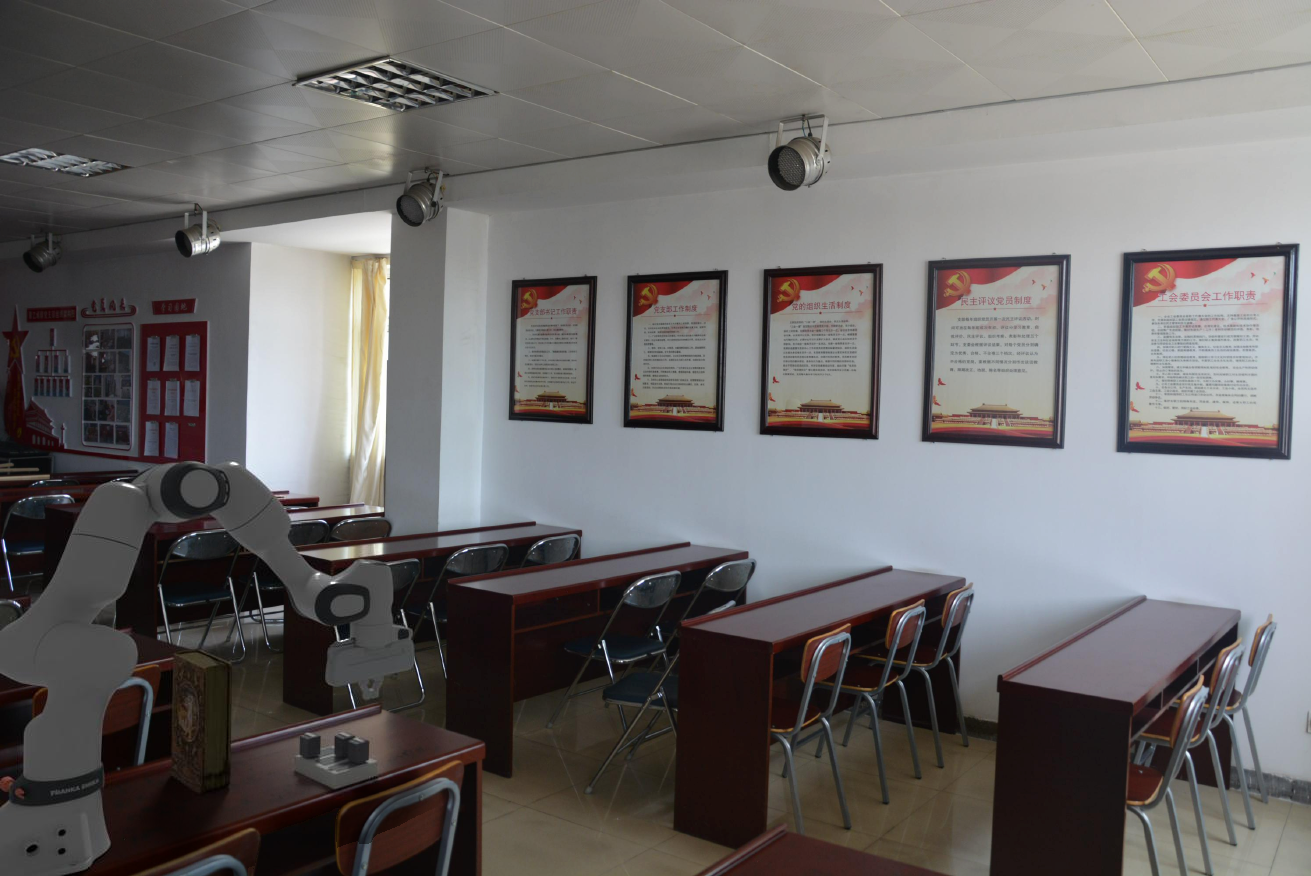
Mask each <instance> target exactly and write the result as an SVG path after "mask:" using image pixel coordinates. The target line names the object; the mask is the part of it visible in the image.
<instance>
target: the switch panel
mask: <svg viewBox="0 0 1311 876" xmlns="http://www.w3.org/2000/svg"><path fill="white" fill-rule="evenodd" d="M293 770H294V771H295V772H297V773H299V774H302V775H304V776H305V777H308V778H310V779H312V780H314V781H316V782H319V783H320V784H323V785H325V786H327V787H328V788H331V789H333V790H336V789H339V788H344V787H346V786H350V785H352V784H356V783H359V782H361V781H364V780H369V779H372V778H375V777H377V776H378V771H379V770H378V761H377V760H375V759H373V758H370V757H369V760H367V761H364V762H361V763H357V764H355V763H353V762H351V761H348V756H347V757H344V758H341V757H339V756H336V755H334V744H333V745H331V746H325V747H323V748H320V755H317V756H314V757H310V758H305V757H303V756H301V755H299V754H298V755H295V756H294V769H293ZM374 776H375V777H374ZM371 777H372V778H371Z"/></svg>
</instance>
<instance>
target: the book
mask: <svg viewBox="0 0 1311 876" xmlns="http://www.w3.org/2000/svg"><path fill="white" fill-rule="evenodd" d="M172 658H173V659H172V709H171V710H172V711H171V712H172V713H171V714H172V715H171V717H172V718H171V763H170V764H171V769H170V770H171V771H170V776H171V777H173V776H174V777H173V778H175V779H176V778H177V779H176V780H177V781H179V780H180V781H179V782H180V783H182V784H183V785H185V786H186V787H188V788H189V789H191V790H192V791H194V792H196V793H198V794H199V795H202V794H204V793H205V792H208V791H211V790H215V789H220V788H229V787H230V785H231V771H232V770H231V767H232V765H231V764H232V763H231V762H232V761H231V760H232V759H231V757H232V756H231V755H232V700H233V699H232V698H233V694H232V693H233V688H232V687H233V664H232V663H231V662H230V661H228V660H226V659H225V660H224V659H223V658H220V657H218V656H216V655H214V654H212V653H209V652H206V651H205V650H202V649H190V650H183V651H178V652H174V653H173V655H172Z"/></svg>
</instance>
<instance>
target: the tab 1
mask: <svg viewBox="0 0 1311 876" xmlns="http://www.w3.org/2000/svg"><path fill="white" fill-rule="evenodd" d="M321 739H322V737H321V735H320V734H317V733H316V732H305V733H304V734H301V735H299V754H298V755H301V756H303V757H305V758H310V757H314V756H317V755H320V749H321V745H322V743H321V741H322V740H321Z"/></svg>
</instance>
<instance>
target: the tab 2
mask: <svg viewBox="0 0 1311 876" xmlns="http://www.w3.org/2000/svg"><path fill="white" fill-rule="evenodd" d="M369 758H370V740H368V739H365V738H363V737H355V738H353V740H350V741H348V761H351V762H353V763H355V764H357V763H361V762H364V761H367V760H369Z"/></svg>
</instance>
